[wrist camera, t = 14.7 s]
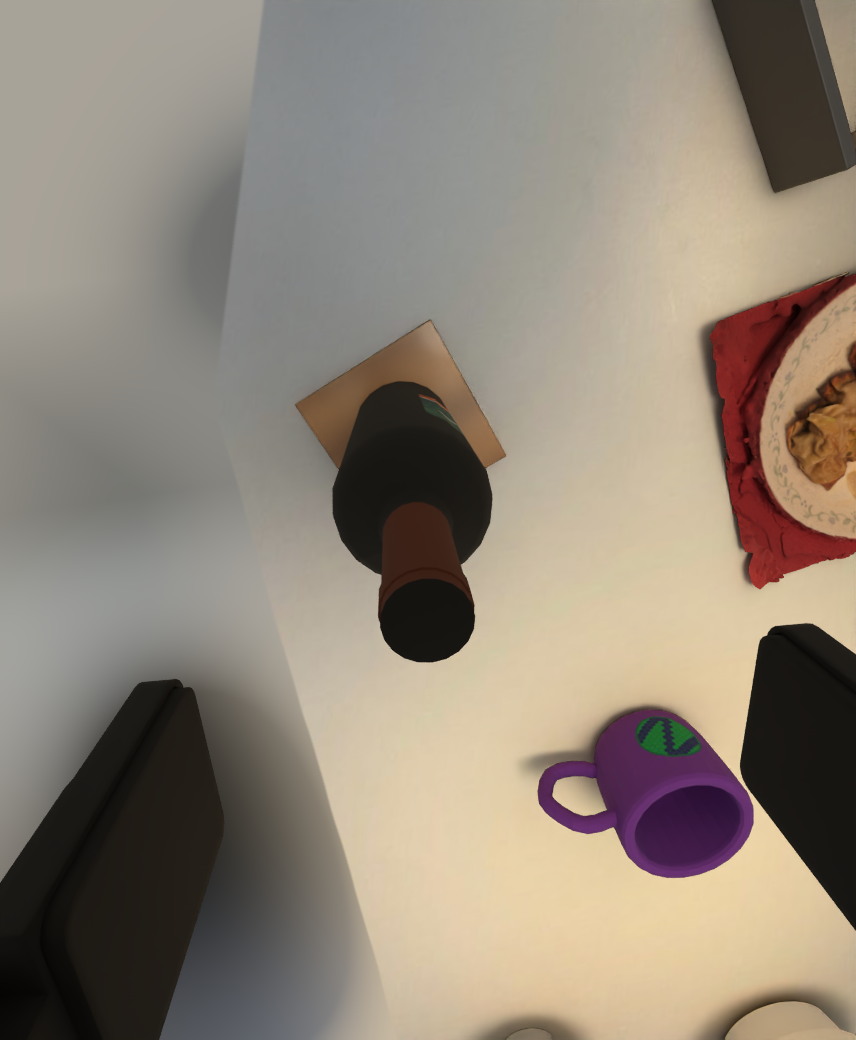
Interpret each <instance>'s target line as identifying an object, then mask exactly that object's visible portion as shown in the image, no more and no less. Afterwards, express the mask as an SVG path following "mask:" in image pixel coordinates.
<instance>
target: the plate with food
mask: <svg viewBox="0 0 856 1040" xmlns="http://www.w3.org/2000/svg"><path fill="white" fill-rule="evenodd" d="M847 274H849V272H846V273H844V274H842V275H839V276H836V277H833V278H831V279H828V280H825V281H823V282H820V283H818V284H815V285H814V286H812V288H809V289H806V290H804V291H801V292H798V293H794V292H791V293H789V294H788V295H786V296H782V297H780V299H778V300H774V301H771V302H767V303H765V304H762V305H760V306H757V307H754V308H751V309H749V310H746V311H744V312H741V313H738V314H736V315H733V316H731V317H728V318H726V319H724V320H721V321H719V322H718V323H717V325H716V328H715V329H714V330H713V332H712V334H711V335H710V340H711V343H712V344H713V345H714V346H713V359H714V360H715V361H716V365H717V368H716V381H717V384H718V391H719V393H720V396H721V398H724V399H725V406H724V408H723V413H722V414H721V416H722V421H723V422H722V423H723V429H724V436H725V441H726V445H727V446H726V447H725V448H727V452H728V455H729V458H730V459H729V458H728V457H727V456H725V460H726V463H725V464H726V466H727V479H728V482H729V487H730V489H729V490H730V497H731V503H732V505H733V507H734V509H733V513H735V514H736V516H737V518H738V526H739V527H740V529H739V531H740V538H741V543H742V545H743V548H744V550H745V552H751V553H752V552H753V556H752V559H751V563H750V564H749V575H750V579H751V581H752V584H753V585H754V586H755V587H757V588H759V589H761V588H762V587H763V586H764V585H765V584H767V583H768V582H779V578H784V576H783V574H786V573H790V572H793V571H797V570H799V569H802V568H805V567H808V566H810V565H812V564H815V563H819V562H821V561H825V560H827V559H828V560H834V559H836V558H837V559H842V558H846V557H849V556H850V554H851V555H852V554H854V552H856V274H853V275H850V276H846V277H845V275H847Z"/></svg>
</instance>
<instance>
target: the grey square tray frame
mask: <svg viewBox="0 0 856 1040" xmlns="http://www.w3.org/2000/svg"><path fill="white" fill-rule="evenodd" d="M712 1H713V4H714V8H715V11H716V14H717V17H718V20H719V23H720V26H721V29H722V32H723V35H724V38H725V41H726V45H727V48H728V51H729V54H730V57H731V60H732V63H733V66H734V69H735V72H736V75H737V79H738V82H739V85H740V88H741V91H742V94H743V97H744V100H745V103H746V106H747V109H748V112H749V116H750V119H751V122H752V125H753V128H754V131H755V134H756V137H757V140H758V143H759V146H760V150H761V153H762V156H763V159H764V162H765V165H766V168H767V171H768V174H769V177H770V180H771V184H772V187H773V190H774V192H775V193H777V192H780V191H783V190H786V189H789V188H792V187H795V186H798V185H801V184H805V183H808V182H811V181H814V180H817V179H820V178H823V177H826V176H829V175H832V174H835V173H838V172H842V171H845V170H848V169H849V168H851V167H853V166H854V165H856V131H855V132H853V133H851V132H850V128H849V124H848V121H847V117H846V113H845V110H844V106H843V102H842V99H841V95H840V91H839V88H838V84H837V80H836V77H835V73H834V69H833V66H832V62H831V58H830V55H829V51H828V47H827V44H826V40H825V36H824V33H823V29H822V25H821V21H820V18H819V14H818V10H817V7H816V3H815V0H712Z"/></svg>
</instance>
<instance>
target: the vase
mask: <svg viewBox="0 0 856 1040" xmlns="http://www.w3.org/2000/svg"><path fill="white" fill-rule="evenodd" d="M506 1040H553V1038H552V1036H551V1035H550V1034H549V1033H548V1032H546V1031H544V1030H541V1029H536V1028H528V1029H523V1030H520V1031H517V1032H515V1033H513V1034H512V1035H510V1036H509V1037H508V1038H507V1039H506Z"/></svg>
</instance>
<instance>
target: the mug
mask: <svg viewBox="0 0 856 1040" xmlns="http://www.w3.org/2000/svg"><path fill="white" fill-rule="evenodd" d="M572 776H585V777H589V778H596V779H597V783H598V787H599V790H600V793H601V795H602V798H603V801H604V803H605V806H606V809H607V810H606V811H603V812H600V813H598V814H595V815H589V816H582V815H579V814H575V813H573V812H572V811H570V810H568V809H566V808H565V807H563V806H562V805H561V804H559V803H558V802H557V801H556V800H554V798H553V797H552V794H553V787H554V784H555V783H556V781H557V780H559V779H562V778H565V777H572ZM538 800H539V804H540V806H541V807H542V808H543V810H544V811H545V812H546V813H547V814H548V815H549V816H550V817H552V818H553V819H554V820H555V821H557V822H558V823H560V824H562V825H563V826H565V827H567V828H569V829H571V830H572V831H576V832H581V833H585V834H591V833H597V832H602V831H605V830H607V829H609V828H612V827H614V828H615V830H616V833H617V835H618V837H619V839H620V842H621V844H622V846H623V848H624V850H625V852H626V854H627V856H628V857H629V858H630V859H631V860H632V861H633V862H634V863H635V864H636V865H637V866H638V867H639V868H641V869H643V870H645V871H647V872H649V873H650V874H652V875H657V876H661V877H666V878H684V877H689V876H694V875H700V874H702V873H705V872H707V871H710V870H712V869H715V868H717V867H718V866H720V865H721V864H723V863H725V862H726V861H728V860H729V859H730V858H731V857H732V856H733V855H734V854H735V853H737V852H738V851H739V850H740V849H741V847H742V846H743V844H744V843H745V841H746V840H747V838H748V837H749V835H750V832H751V829H752V826H753V823H754V822H753V805H752V802H751V800H750V797H749V795H748V793H747V791H746V790H745V789H744V787H743V786H742V785H741V783H740V782H739V781H738V779H737V778H736V777H735V776H734V774H733V773H732V772H731V770H730V769H729V768H728V767H727V765H726V764H725V763H724V762H723V761H722V759H721V758H720V757H719V756H718V755H717V753H716V752H715V751H714V750H713V749H712V747H711V746H710V745H709V744H708V743H707V742H706V740H705V739H704V738H703V737H702V736H701V735H700V734H699V733H698V732H697V731H696V730H695V729H694V728H693V727H692V726H691V725H690V724H689V723H688V722H686V721H685V720H683V719H682V718H680V717H679V716H677V715H675V714H673V713H670V712H666V711H662V710H642V711H637V712H633V713H630V714H628V715H626V716H623V717H621V718H620V719H618V720H617V721H615V722H614V723H612V724H611V725H610V726H609V727H608V728H607V729H606V730H605V732H604V733H603V734H602V735H601V737H600V739H599V741H598V743H597V745H596V749H595V754H594V763H591V762H586V761H567V762H561V763H557V764H555V765H553V766H551V767H549V768H547V769H546V770H545V771H544V773H543V775H542V777H541V778H540V780H539V786H538Z"/></svg>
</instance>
